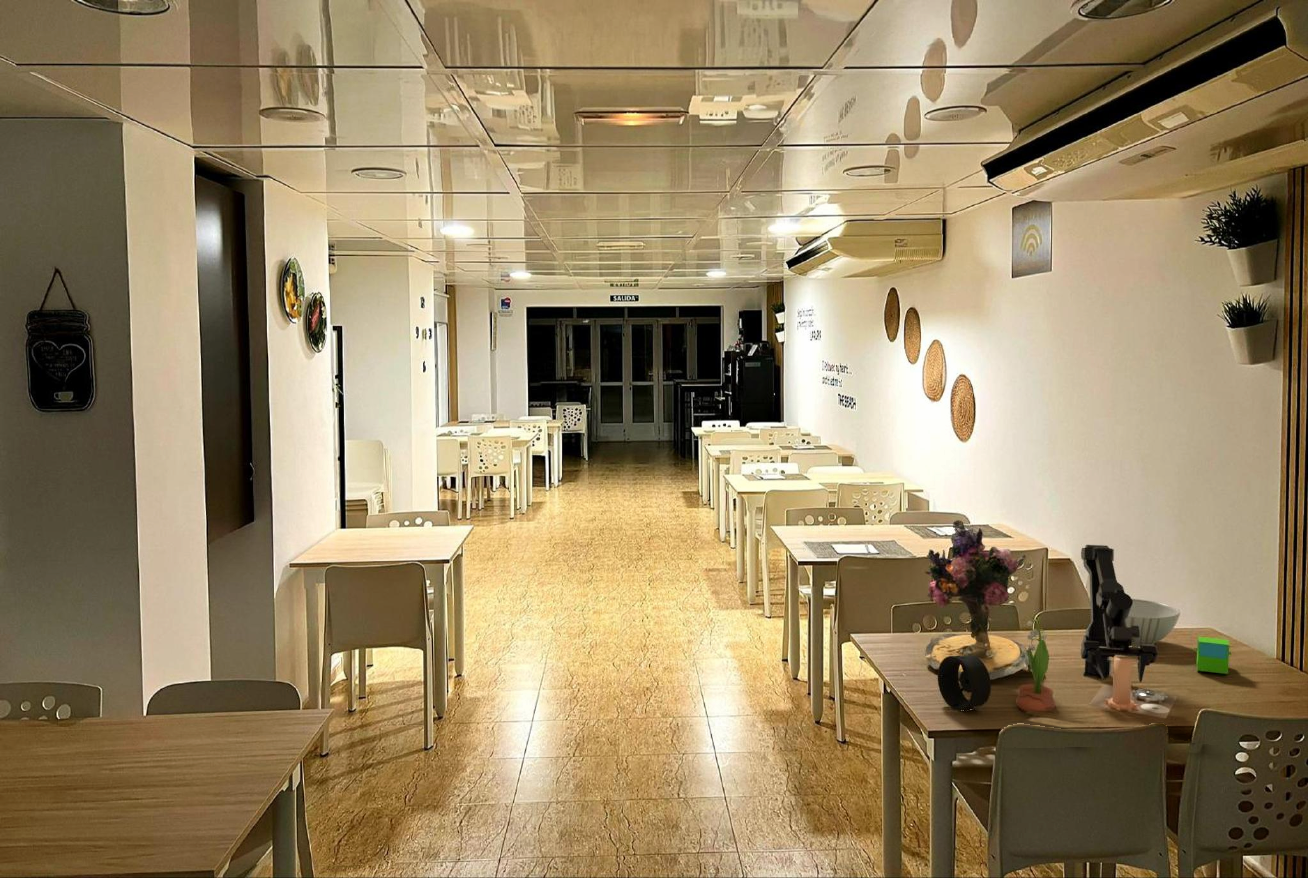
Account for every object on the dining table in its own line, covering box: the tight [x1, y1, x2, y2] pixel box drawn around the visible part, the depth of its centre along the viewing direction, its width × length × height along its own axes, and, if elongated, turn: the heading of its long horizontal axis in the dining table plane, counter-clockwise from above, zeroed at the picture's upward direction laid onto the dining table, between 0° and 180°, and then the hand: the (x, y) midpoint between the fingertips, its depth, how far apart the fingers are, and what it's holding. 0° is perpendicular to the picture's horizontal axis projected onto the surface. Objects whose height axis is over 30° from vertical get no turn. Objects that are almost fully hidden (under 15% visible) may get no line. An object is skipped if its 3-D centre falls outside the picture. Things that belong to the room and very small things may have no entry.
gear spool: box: [1106, 656, 1137, 711], centre depth 289 cm, size 8×8×13 cm
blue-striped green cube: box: [1193, 636, 1232, 676], centre depth 329 cm, size 10×13×10 cm
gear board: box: [1088, 684, 1178, 719], centre depth 295 cm, size 19×21×2 cm
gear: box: [1132, 688, 1168, 704], centre depth 297 cm, size 9×9×2 cm
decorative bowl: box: [1126, 598, 1181, 648], centre depth 357 cm, size 27×27×12 cm
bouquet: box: [924, 519, 1031, 681], centre depth 326 cm, size 33×44×45 cm
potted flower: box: [1015, 617, 1056, 712], centre depth 291 cm, size 12×10×25 cm
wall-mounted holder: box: [937, 655, 992, 712], centre depth 292 cm, size 14×14×10 cm
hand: (1122, 679), depth 289 cm, fingers open, 9 cm apart
